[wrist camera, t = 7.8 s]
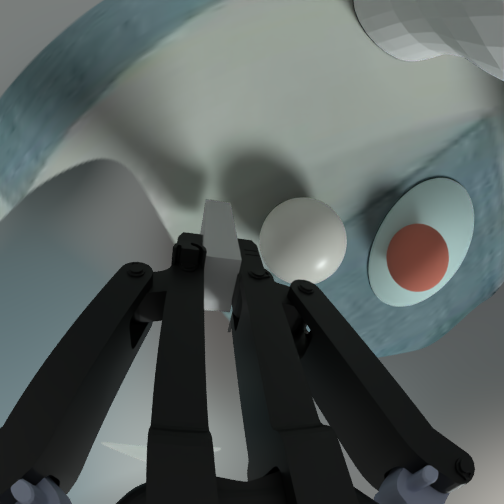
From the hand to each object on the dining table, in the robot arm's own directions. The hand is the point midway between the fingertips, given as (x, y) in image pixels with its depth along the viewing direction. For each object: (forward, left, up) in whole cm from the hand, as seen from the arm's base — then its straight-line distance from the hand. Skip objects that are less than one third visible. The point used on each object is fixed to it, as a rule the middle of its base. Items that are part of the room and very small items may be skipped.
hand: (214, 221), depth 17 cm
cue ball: (-3, +5, +1) cm, 6 cm away
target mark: (-11, +17, -2) cm, 20 cm away
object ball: (-9, +13, +1) cm, 16 cm away
